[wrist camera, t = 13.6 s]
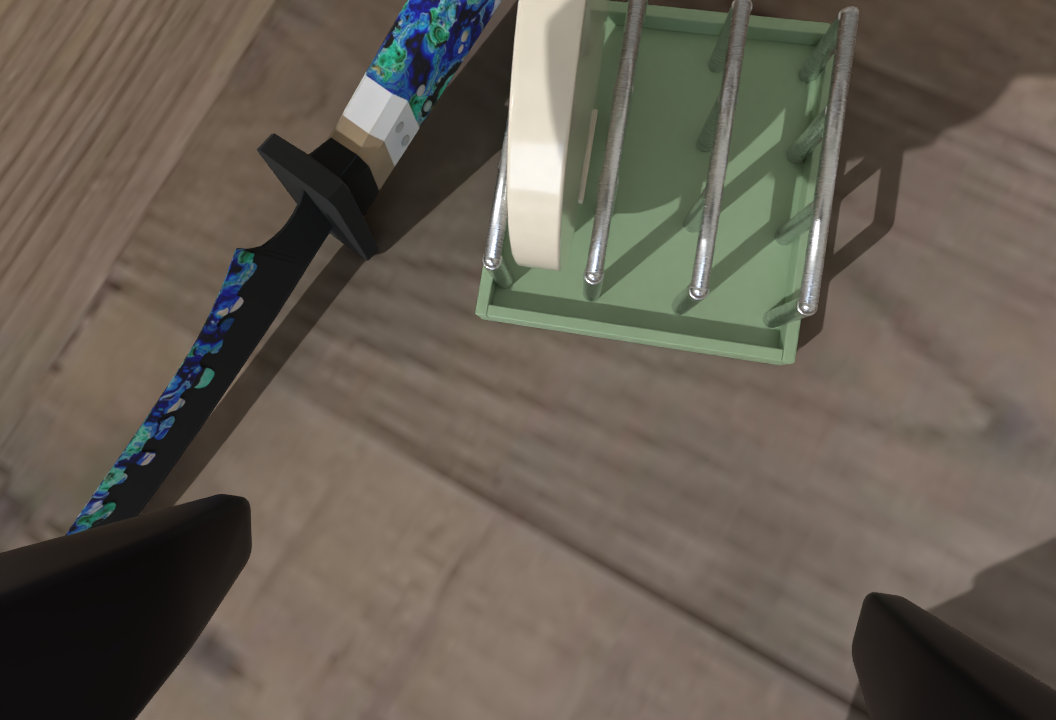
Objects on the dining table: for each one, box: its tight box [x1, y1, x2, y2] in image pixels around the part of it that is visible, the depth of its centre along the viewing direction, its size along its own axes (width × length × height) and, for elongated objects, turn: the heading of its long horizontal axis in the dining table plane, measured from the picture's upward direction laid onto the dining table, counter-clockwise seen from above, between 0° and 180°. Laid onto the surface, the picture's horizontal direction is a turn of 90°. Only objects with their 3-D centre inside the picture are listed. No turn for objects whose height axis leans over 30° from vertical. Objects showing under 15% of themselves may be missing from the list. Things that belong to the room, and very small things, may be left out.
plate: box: [507, 0, 609, 272], centre depth 15 cm, size 10×1×10 cm, turn 171°
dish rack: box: [475, 0, 859, 365], centre depth 19 cm, size 11×10×4 cm
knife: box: [65, 0, 502, 536], centre depth 20 cm, size 31×3×4 cm, turn 140°
